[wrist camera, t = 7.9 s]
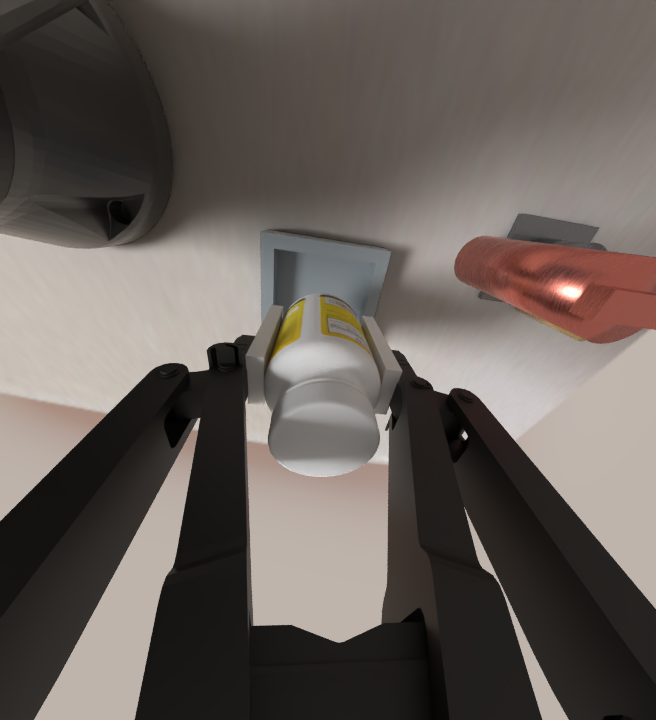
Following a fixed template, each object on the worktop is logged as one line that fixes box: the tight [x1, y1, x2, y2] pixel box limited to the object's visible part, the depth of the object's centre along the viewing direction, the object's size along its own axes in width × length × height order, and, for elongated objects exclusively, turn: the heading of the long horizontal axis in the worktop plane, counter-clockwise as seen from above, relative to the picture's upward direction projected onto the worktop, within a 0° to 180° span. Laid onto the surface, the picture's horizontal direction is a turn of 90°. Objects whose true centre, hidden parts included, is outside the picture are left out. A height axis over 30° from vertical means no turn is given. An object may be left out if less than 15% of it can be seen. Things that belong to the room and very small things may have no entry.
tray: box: [260, 230, 391, 324], centre depth 21 cm, size 10×10×2 cm
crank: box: [454, 236, 656, 344], centre depth 12 cm, size 13×4×11 cm, turn 82°
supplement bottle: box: [264, 293, 381, 477], centre depth 12 cm, size 5×5×10 cm
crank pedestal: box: [478, 214, 607, 341], centre depth 19 cm, size 7×8×6 cm
